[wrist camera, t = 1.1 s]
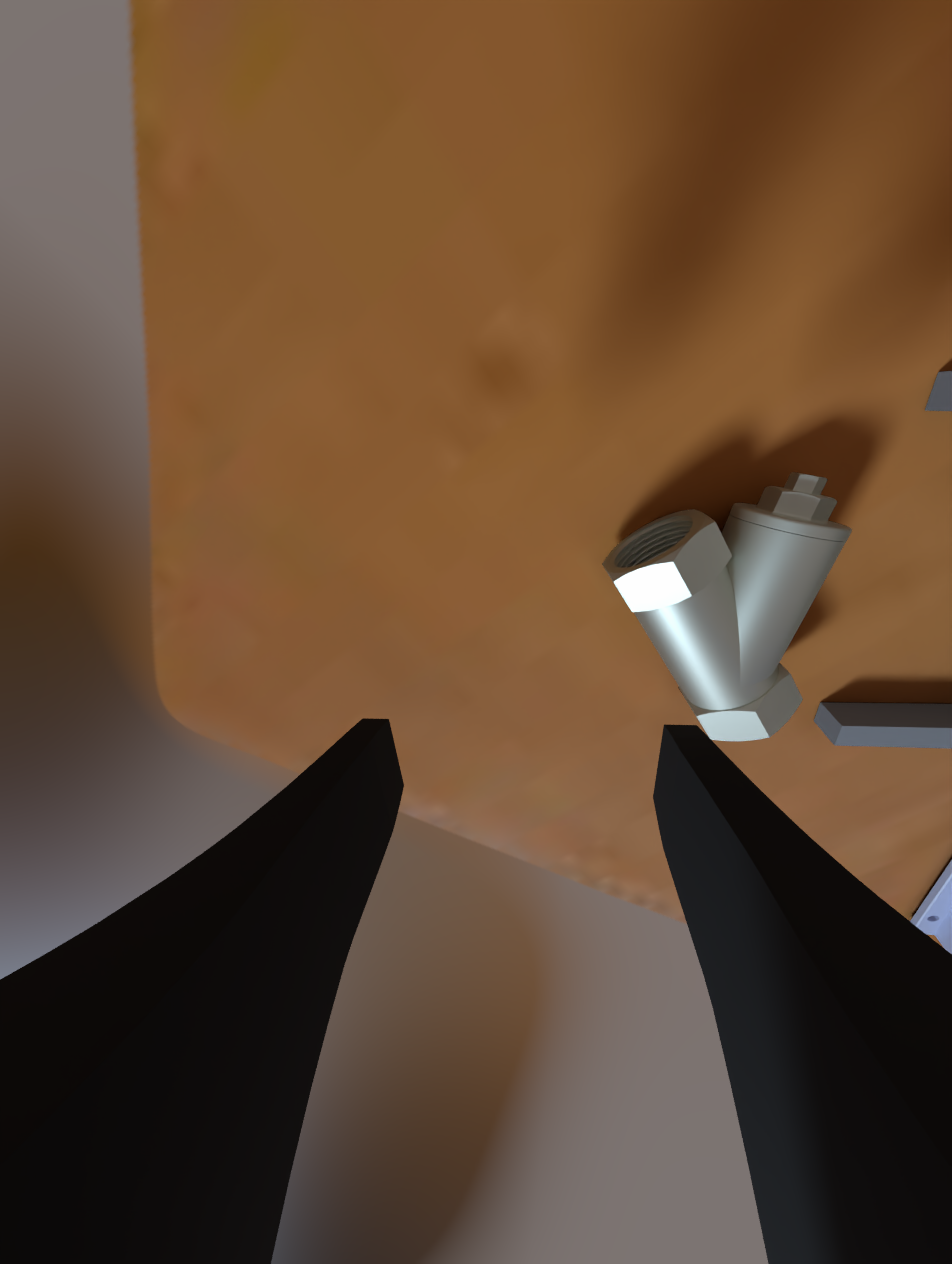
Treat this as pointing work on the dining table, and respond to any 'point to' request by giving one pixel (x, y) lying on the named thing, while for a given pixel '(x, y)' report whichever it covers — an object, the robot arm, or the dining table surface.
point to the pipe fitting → (732, 600)
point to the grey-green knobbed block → (893, 719)
